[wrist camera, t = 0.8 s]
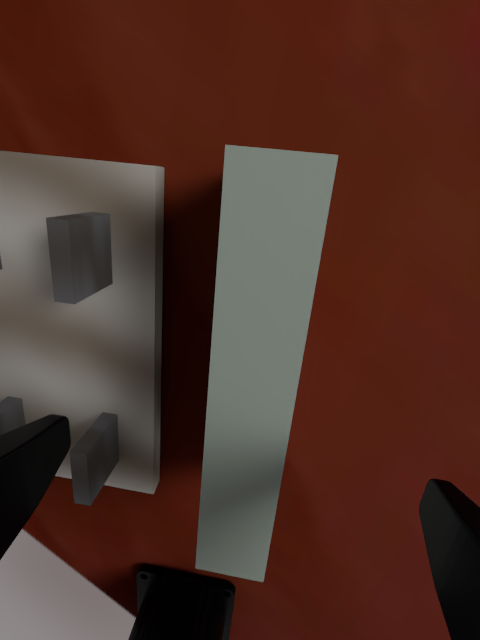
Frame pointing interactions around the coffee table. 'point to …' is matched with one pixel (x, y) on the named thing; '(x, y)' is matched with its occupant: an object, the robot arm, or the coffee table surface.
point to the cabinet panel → (84, 312)
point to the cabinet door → (257, 345)
